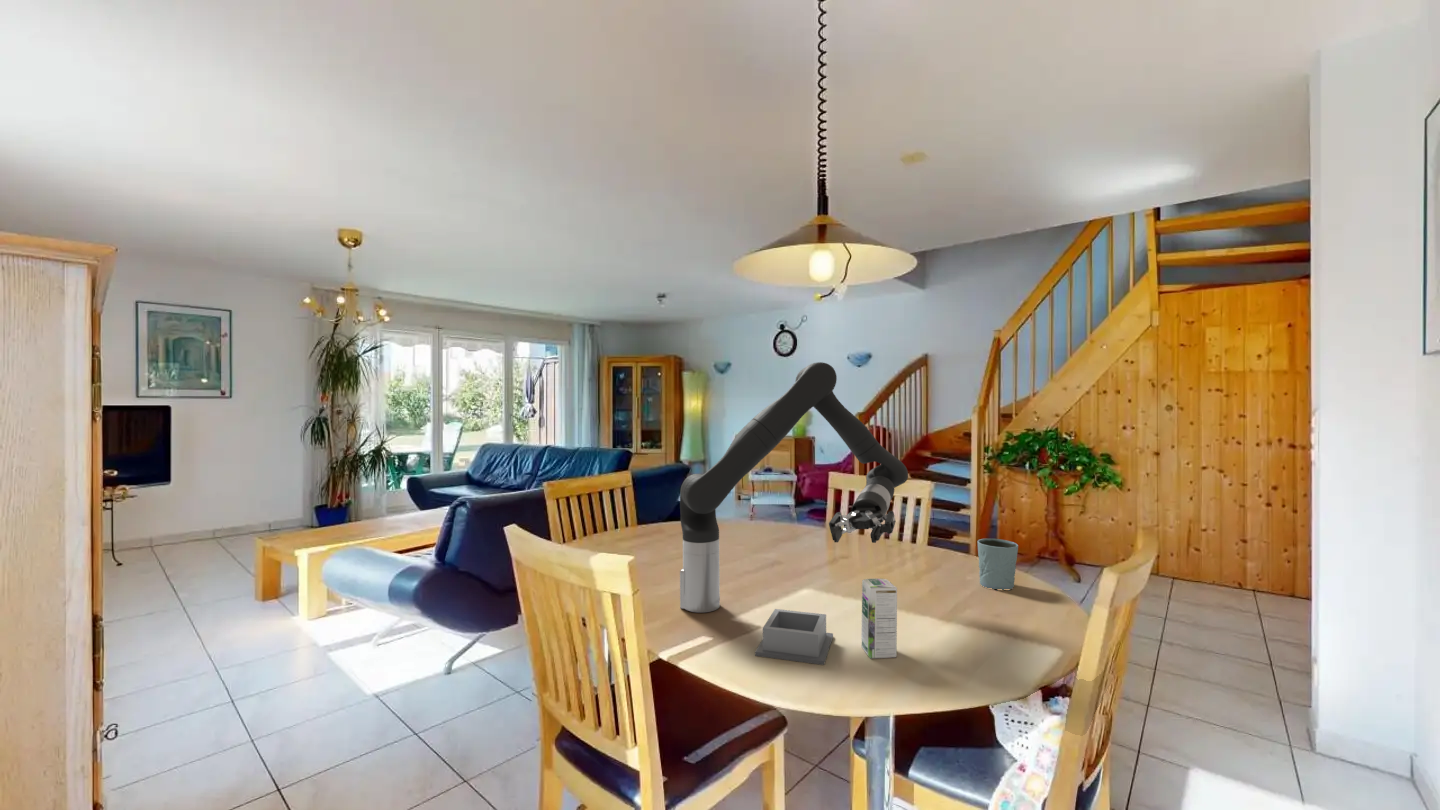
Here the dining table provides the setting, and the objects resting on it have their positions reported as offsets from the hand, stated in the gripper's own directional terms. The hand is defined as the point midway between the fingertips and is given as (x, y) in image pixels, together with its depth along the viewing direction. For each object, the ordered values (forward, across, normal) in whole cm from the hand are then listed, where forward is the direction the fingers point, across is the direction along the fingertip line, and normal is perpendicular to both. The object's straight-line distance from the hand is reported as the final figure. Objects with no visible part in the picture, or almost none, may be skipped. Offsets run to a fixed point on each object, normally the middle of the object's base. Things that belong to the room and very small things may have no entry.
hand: (853, 539), depth 127 cm
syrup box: (+11, +4, +20) cm, 23 cm away
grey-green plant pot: (-44, +20, +40) cm, 62 cm away
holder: (+16, -12, +16) cm, 26 cm away
